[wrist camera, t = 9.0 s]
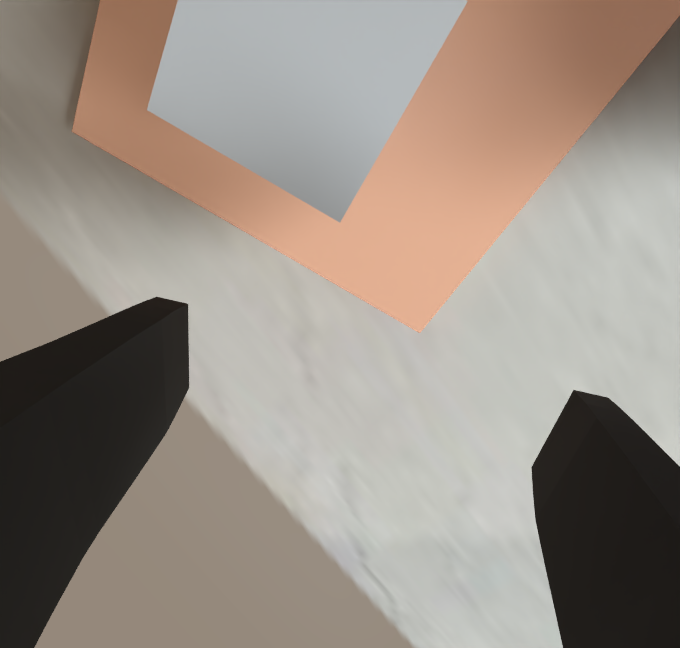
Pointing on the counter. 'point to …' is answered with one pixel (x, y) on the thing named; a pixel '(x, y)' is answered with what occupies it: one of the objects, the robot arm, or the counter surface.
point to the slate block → (299, 84)
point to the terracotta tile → (395, 140)
